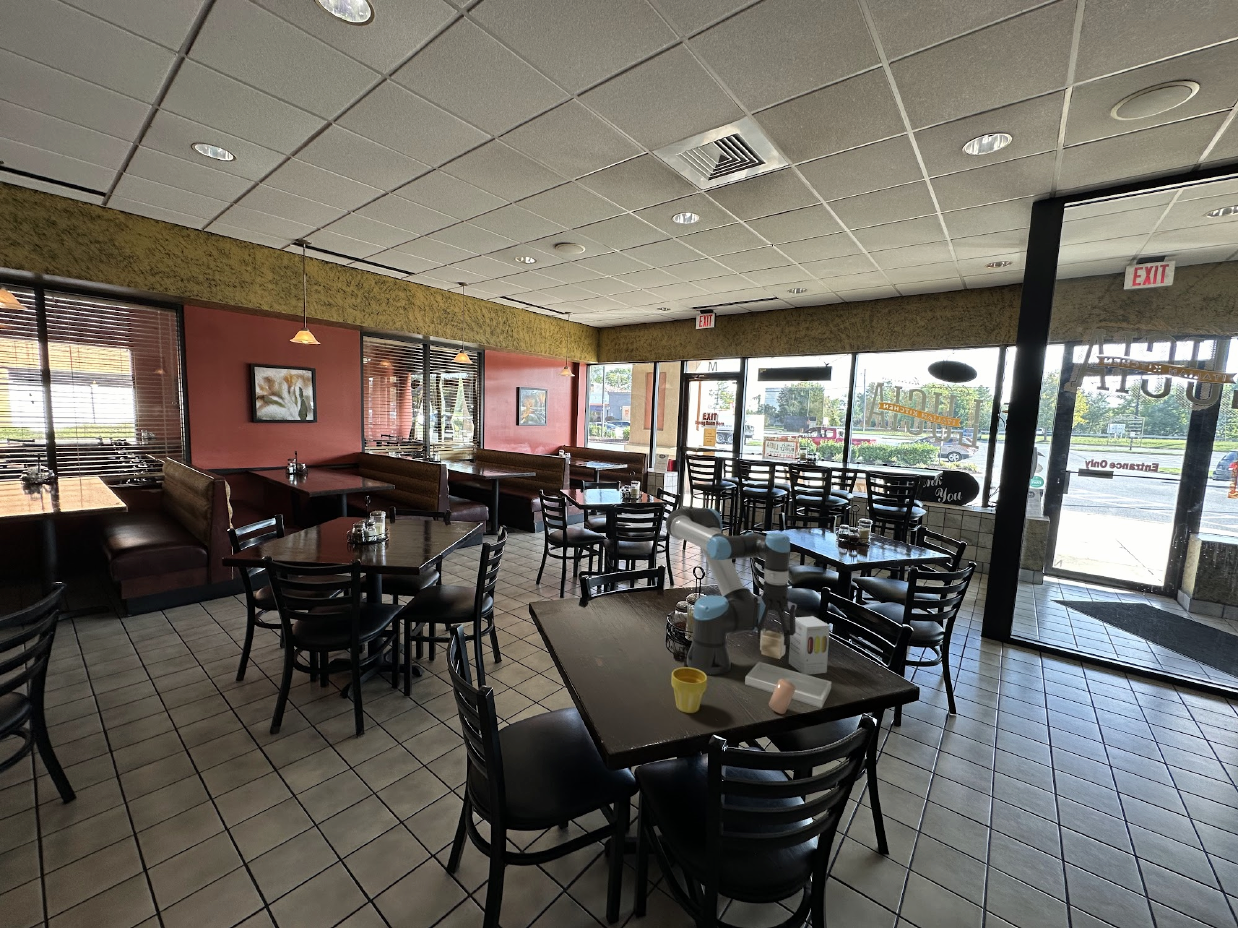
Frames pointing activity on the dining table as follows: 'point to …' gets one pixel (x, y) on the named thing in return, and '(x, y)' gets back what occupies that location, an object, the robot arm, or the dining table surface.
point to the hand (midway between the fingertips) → (772, 651)
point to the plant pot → (688, 688)
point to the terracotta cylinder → (782, 696)
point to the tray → (806, 686)
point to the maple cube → (771, 644)
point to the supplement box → (809, 645)
